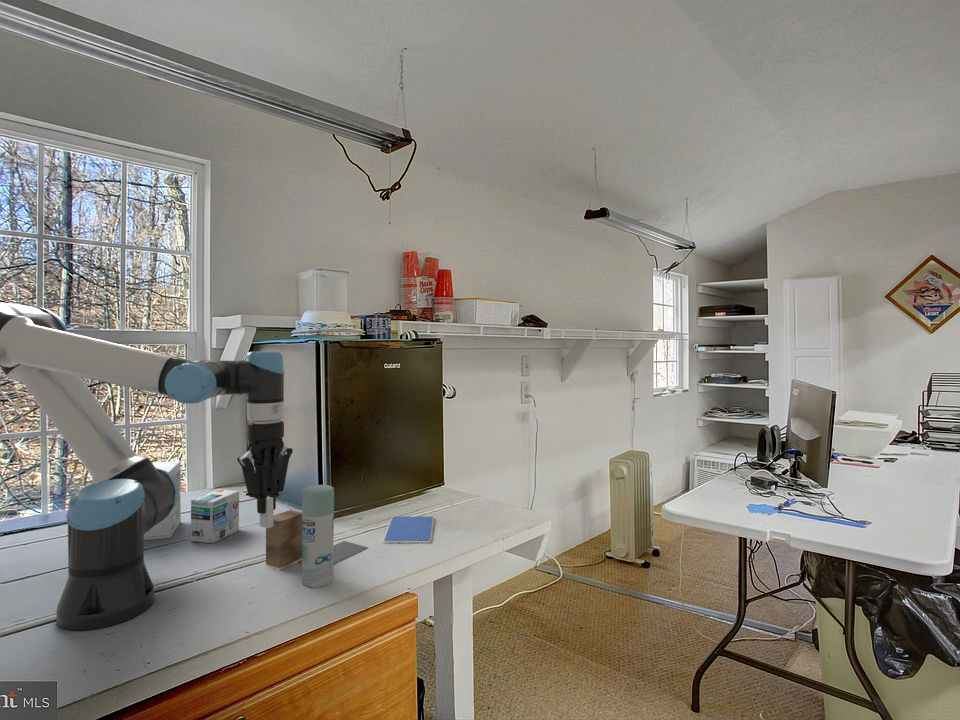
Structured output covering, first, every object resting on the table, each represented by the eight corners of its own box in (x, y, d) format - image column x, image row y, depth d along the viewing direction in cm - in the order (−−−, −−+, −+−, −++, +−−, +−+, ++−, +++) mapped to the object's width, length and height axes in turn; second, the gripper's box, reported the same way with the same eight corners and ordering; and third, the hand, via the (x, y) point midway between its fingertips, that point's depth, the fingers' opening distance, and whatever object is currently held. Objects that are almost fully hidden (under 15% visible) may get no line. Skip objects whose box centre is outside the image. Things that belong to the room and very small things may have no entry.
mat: (322, 569, 118) (322, 569, 118) (297, 562, 122) (297, 561, 122) (367, 547, 131) (367, 547, 131) (343, 541, 135) (343, 540, 135)
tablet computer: (431, 546, 134) (431, 540, 134) (381, 545, 134) (381, 540, 134) (434, 520, 154) (434, 516, 154) (391, 520, 153) (391, 516, 153)
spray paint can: (339, 581, 112) (339, 489, 112) (310, 591, 108) (311, 495, 107) (324, 571, 117) (325, 483, 116) (296, 580, 113) (296, 488, 112)
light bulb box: (212, 544, 132) (212, 501, 131) (189, 541, 133) (189, 499, 133) (240, 529, 142) (240, 490, 142) (218, 527, 144) (218, 488, 143)
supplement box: (110, 544, 131) (109, 474, 130) (126, 526, 143) (126, 463, 143) (170, 538, 135) (170, 471, 134) (181, 521, 148) (181, 460, 147)
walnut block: (279, 570, 118) (279, 521, 117) (265, 565, 120) (265, 518, 119) (303, 559, 124) (303, 513, 123) (290, 555, 126) (290, 509, 126)
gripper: (250, 426, 108) (251, 538, 109) (301, 418, 120) (301, 520, 120) (228, 423, 112) (229, 532, 113) (279, 416, 123) (279, 515, 124)
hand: (266, 526), depth 117 cm, fingers closed
